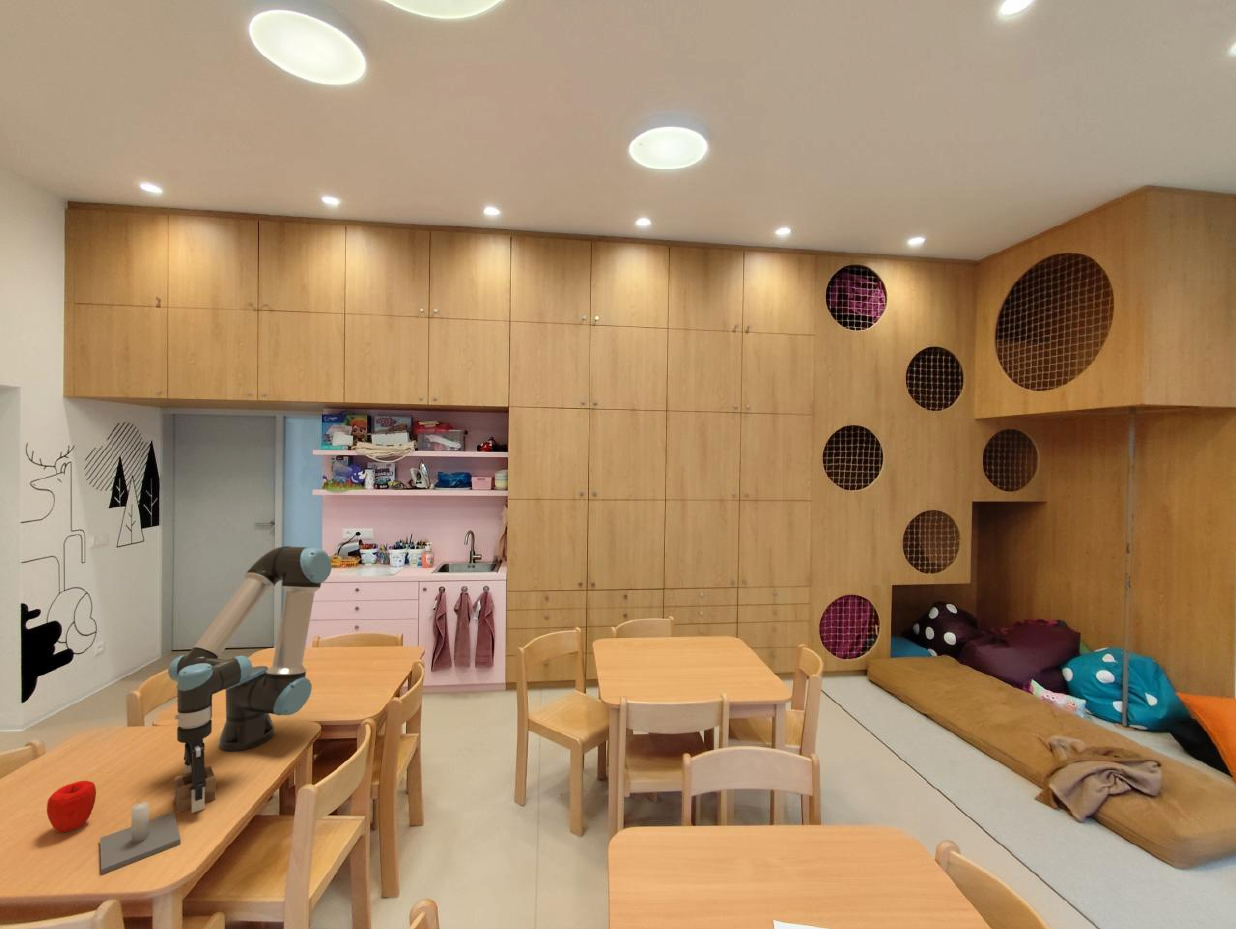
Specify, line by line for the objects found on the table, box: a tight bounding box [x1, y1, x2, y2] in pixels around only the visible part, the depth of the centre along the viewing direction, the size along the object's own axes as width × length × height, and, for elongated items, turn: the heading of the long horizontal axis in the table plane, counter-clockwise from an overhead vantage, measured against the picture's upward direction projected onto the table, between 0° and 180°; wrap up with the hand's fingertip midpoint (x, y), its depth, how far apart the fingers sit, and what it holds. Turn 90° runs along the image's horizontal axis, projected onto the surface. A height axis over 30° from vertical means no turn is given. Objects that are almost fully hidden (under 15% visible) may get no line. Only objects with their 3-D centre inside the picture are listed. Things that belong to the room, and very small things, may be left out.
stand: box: [99, 801, 181, 876], centre depth 131 cm, size 14×14×9 cm
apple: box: [46, 780, 97, 834], centre depth 136 cm, size 9×9×11 cm
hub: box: [174, 765, 216, 813], centre depth 148 cm, size 8×8×6 cm
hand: (194, 798), depth 148 cm, fingers open, 13 cm apart
